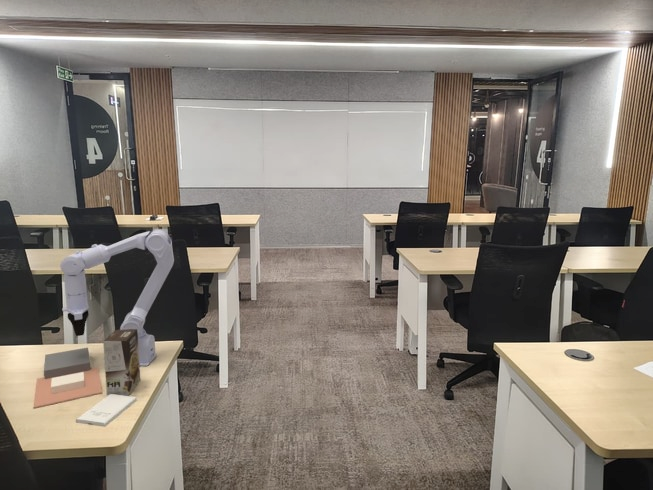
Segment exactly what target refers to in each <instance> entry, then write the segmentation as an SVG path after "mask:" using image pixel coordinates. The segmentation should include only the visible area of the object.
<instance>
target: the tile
mask: <svg viewBox="0 0 653 490" xmlns="http://www.w3.org/2000/svg"><path fill="white" fill-rule="evenodd" d="M82 387H85V384H84V373H83V372H81V373H75V374H70V375H65V376H60V377H55V378H52V380H51V392H52V394H53V393H58V392H63V391H68V390H72V389H77V388H82Z"/></svg>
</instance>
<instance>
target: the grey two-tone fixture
mask: <svg viewBox="0 0 653 490" xmlns="http://www.w3.org/2000/svg"><path fill="white" fill-rule="evenodd" d="M90 359H91V358H90V352H89V347H82V348H77V349H72V350H65V351H60V352H59V351H58V352H54V353H49V354H48V353H47V354H45V355H44V365H43V366H44V367H43V375H44V376H43V377H45V379H48V378H53V377H59V376H64V375H69V374H74V373H79V372H84V371H89V370H91V368H92V367H91V360H90Z"/></svg>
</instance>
